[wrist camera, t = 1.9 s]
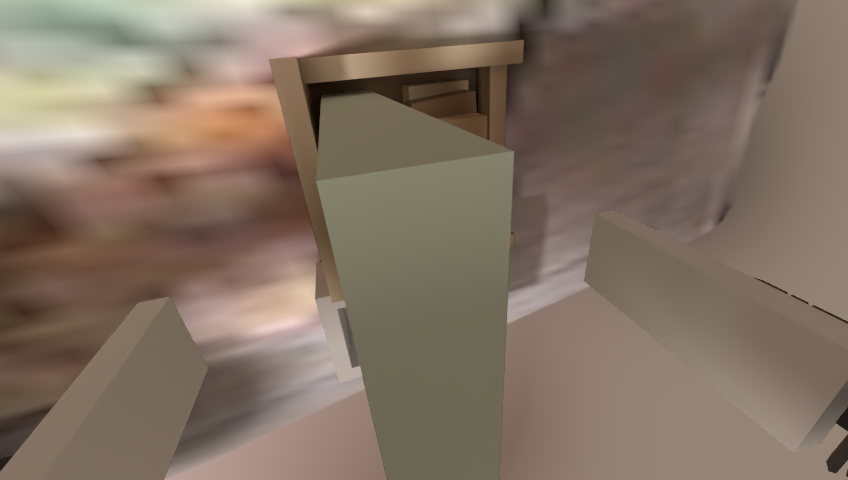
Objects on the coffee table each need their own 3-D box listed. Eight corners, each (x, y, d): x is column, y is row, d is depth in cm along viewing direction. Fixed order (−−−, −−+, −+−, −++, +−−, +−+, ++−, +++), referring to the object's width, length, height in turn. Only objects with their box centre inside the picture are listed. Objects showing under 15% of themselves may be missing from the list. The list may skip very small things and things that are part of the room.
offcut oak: (428, 211, 23) (435, 219, 22) (422, 118, 20) (429, 122, 19) (476, 203, 24) (485, 210, 22) (477, 113, 21) (487, 115, 20)
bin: (336, 339, 31) (339, 383, 26) (316, 262, 27) (315, 299, 23) (482, 303, 34) (505, 338, 29) (482, 229, 30) (509, 256, 25)
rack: (330, 258, 27) (332, 303, 22) (282, 62, 21) (268, 59, 15) (491, 226, 30) (526, 259, 25) (494, 44, 23) (543, 36, 18)
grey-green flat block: (349, 231, 27) (398, 530, 9) (321, 94, 22) (315, 180, 5) (387, 225, 27) (499, 494, 10) (367, 89, 23) (514, 151, 5)
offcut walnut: (426, 226, 26) (433, 237, 24) (404, 101, 22) (411, 104, 20) (475, 213, 26) (485, 223, 25) (463, 89, 22) (475, 90, 20)
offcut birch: (415, 216, 28) (422, 229, 26) (400, 85, 23) (408, 86, 21) (460, 208, 29) (471, 219, 27) (455, 78, 24) (468, 79, 22)
